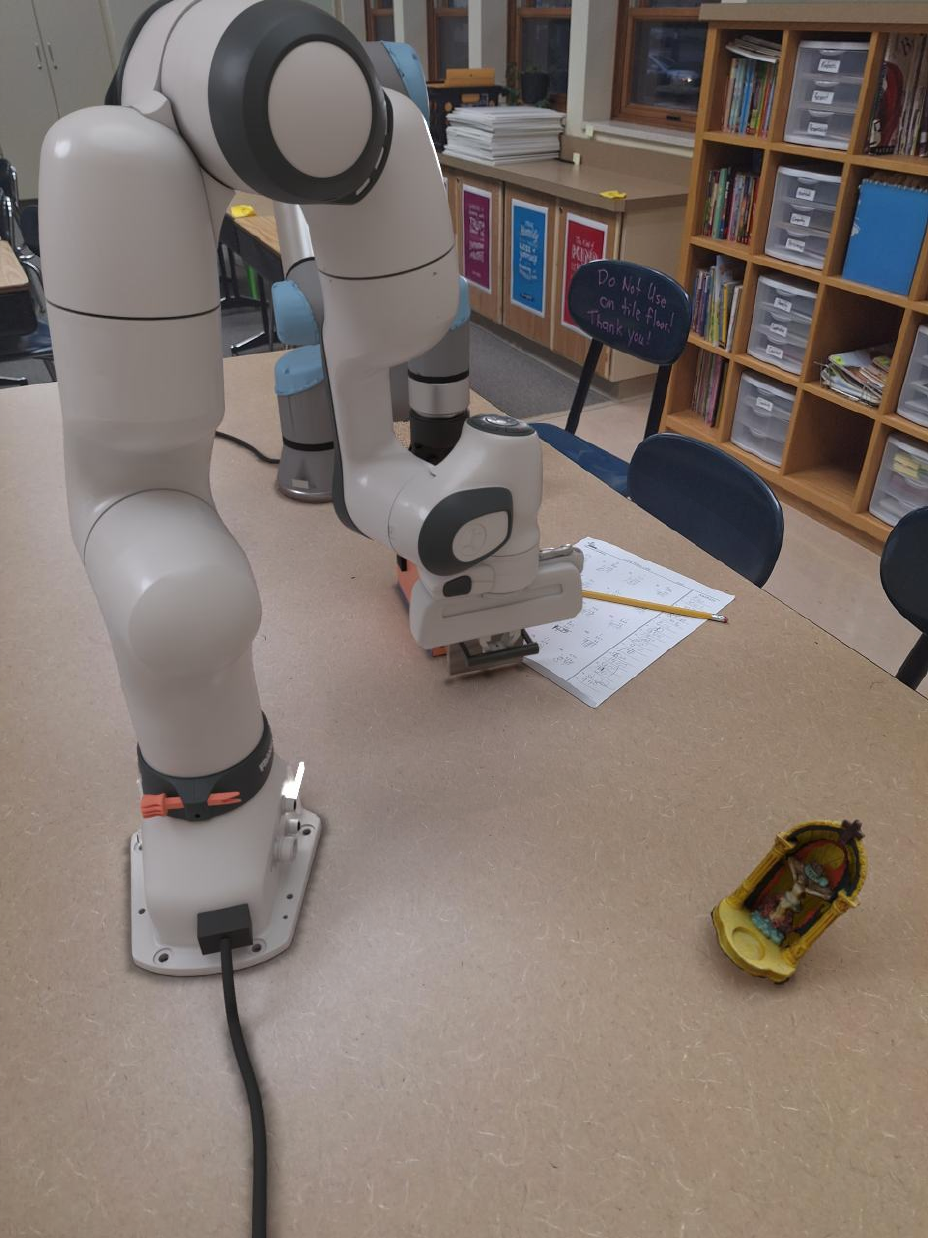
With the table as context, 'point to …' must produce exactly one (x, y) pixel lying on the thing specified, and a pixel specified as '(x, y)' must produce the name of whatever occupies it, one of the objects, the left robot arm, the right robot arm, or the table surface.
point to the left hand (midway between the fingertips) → (496, 657)
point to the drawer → (487, 654)
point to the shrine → (792, 897)
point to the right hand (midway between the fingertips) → (442, 559)
